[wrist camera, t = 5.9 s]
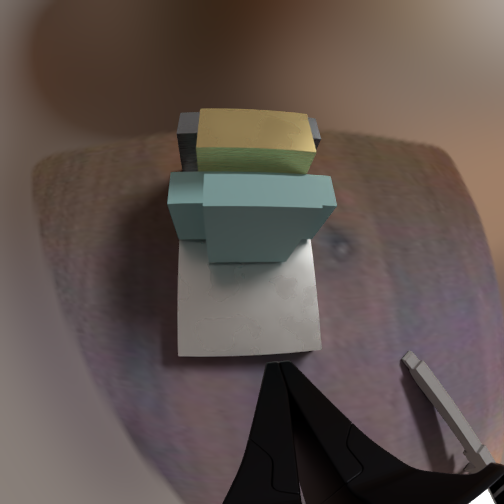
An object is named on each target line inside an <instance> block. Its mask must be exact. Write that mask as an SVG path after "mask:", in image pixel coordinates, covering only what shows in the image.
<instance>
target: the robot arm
mask: <svg viewBox="0 0 504 504" xmlns="http://www.w3.org/2000/svg"><path fill="white" fill-rule="evenodd" d="M351 423H352V422H351V421H350V420H349V419H348V418H347V417H346V416H345V415H344V414H343V413H342V412H341V411H340V410H339V409H337V408H336V407H335V406H334V405H333V404H332V403H331V402H330V401H329V400H328V399H327V398H326V397H325V396H324V395H323V394H322V393H321V392H320V391H319V390H318V389H317V388H316V387H315V386H314V385H313V384H312V383H311V382H310V380H309V379H308V378H307V377H306V376H305V375H304V374H303V373H302V372H301V371H300V370H299V369H298V368H297V367H296V366H295V365H294V364H293V363H292V362H291V361H280V362H267V363H266V366H265V370H264V375H263V379H262V384H261V388H260V393H259V397H258V401H257V405H256V410H255V414H254V418H253V422H252V426H251V430H250V434H249V439H248V442H247V446H246V450H245V453H244V456H243V459H242V462H241V465H240V467H239V470H238V472H237V474H236V477H235V479H234V481H233V483H232V485H231V487H230V489H229V491H228V493H227V495H226V497H225V499H224V501H223V503H222V504H302V502H301V495H300V486H301V489H302V492H303V496H304V499H305V502H306V504H504V465H502V464H499V463H493V462H491V463H489V464H488V465H487V466H485V467H484V468H483V469H481V470H480V471H479V472H477V473H474V474H449V473H439V472H431V471H423V470H419V469H415V468H413V467H410V466H408V465H407V464H405V463H403V462H402V461H400V460H399V459H397V458H396V457H394V456H393V455H392V454H390V453H389V452H387V451H386V450H384V449H383V448H381V447H380V446H379V445H377V444H376V443H375V442H373V441H372V440H371V439H370V438H368V437H367V436H366V435H365V434H364V433H363V432H362V431H360V430H359V429H358V428H357V427H356V426H355V425H354V424H351ZM299 482H300V485H299Z"/></svg>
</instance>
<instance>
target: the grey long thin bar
mask: <svg viewBox="0 0 504 504" xmlns="http://www.w3.org/2000/svg"><path fill="white" fill-rule="evenodd" d="M402 360H403V362H404V363H405V364H406V366H407V367H408V368H409V369H410V370H409V372H410V373H411V375H412V377H413V378H414V380H415V382H416V383H417V384H418V386H419V387H420V388H421V390H422V391H423V392H424V393H425V395H426V396H427V397H428V399H429V400H430V401H431V403H432V404H433V405H434V407H435V408H436V409H437V411H438V412H439V413H440V415H441V416H442V417H443V419H444V420H445V422H446V423H447V424H448V426H449V427H450V429H451V430H452V431H453V433H454V434H455V436H456V437H457V438H458V440H459V441H460V443H461V444H462V446H463V447H464V449H465V450H464V452H463V454H464V455H465V456H466V457H467V459H468V461H469V464H468V465H467V466H466V468H465V469H464V470H465V471H467V472H470V473H469V474H474V473H477V472H479V471H480V470H481V469H483V468H484V467H485V466H487V465H488V464H489V463H491V462H493V463H496V462H495V460H494V459H493V457H492V456H491V454H490V452H489V451H488V449H487V447H486V446H485V445H482V444H481V442H480V441H479V439H478V438H477V436H476V434H475V433H474V431H473V430H472V428H471V427H470V425H469V424H468V422H467V421H466V419H465V418H464V416H463V415H462V413H461V412H460V410H459V409H458V407H457V406H456V405H455V403H454V402H453V400H452V399H451V397H450V396H449V395H448V393H447V392H446V390H445V389H444V388H443V386H442V385H441V384H440V382H439V381H438V380H437V378H436V377H435V376H434V374H433V373H432V372H431V370H430V369H429V368H428V366H427V365H426V364H425V362H424V361H419V360H418V358H417V357H416V356H415V355H414V353H413V352H411V351H408V352H407V353H406V354H405V356H404V357H403V358H402Z"/></svg>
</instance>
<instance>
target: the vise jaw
mask: <svg viewBox="0 0 504 504" xmlns="http://www.w3.org/2000/svg"><path fill="white" fill-rule="evenodd" d="M167 205H168V208H169V211H170V214H171V217H172V220H173V223H174V226H175V229H176V233H177V235H178V238H179V240H183V239H206V243H207V252H208V260H209V263H211V262H286V261H287V259H288V258H289V257H290V255H291V254H292V252H293V251H294V249H295V248H296V247H297V245H298V244H299V242H300V241H301V239H312V238H313V237H314V236H315V234H316V233H317V232H318V230H319V229H320V228H321V226H322V225H323V224H324V223H325V221H326V220H327V219H328V217H329V216H330V215H331V213H332V212H333V211H334V209H335V208H336V207H337V204H336V199H335V194H334V190H333V185H332V181H331V177H330V176H321V175H308V174H291V173H271V172H231V171H204V172H171V176H170V184H169V192H168V201H167Z"/></svg>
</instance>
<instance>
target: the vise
mask: <svg viewBox="0 0 504 504" xmlns="http://www.w3.org/2000/svg"><path fill="white" fill-rule="evenodd" d="M199 116H200V112H191V113H180V118H179V124H178V129H177V139H178V145H179V152H180V158H181V165H182V171H183V172H198V164H197V152H196V144H197V134H198V124H199ZM308 121H309V125H310V128H311V132H312V136H313V140H314V144H315V148H316V149H317V147H318V145H319V142H320V140H321V137H320V134H319V130H318V126H317V123H316V119H315V118H308ZM313 350H322V349H321V336H320V323H319V312H318V301H317V291H316V282H315V273H314V264H313V256H312V248H311V241H310V239H301V241H300V242H299V244H298V245H297V247H296V248H295V249H294V251H293V252H292V254H291V255H290V257H289V258H288V259H287V261H286V262H211V263H209V260H208V252H207V243H206V239H183V240H179V263H178V356H194V357H210V356H248V355H267V354H281V353H293V352H304V351H313Z"/></svg>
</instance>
